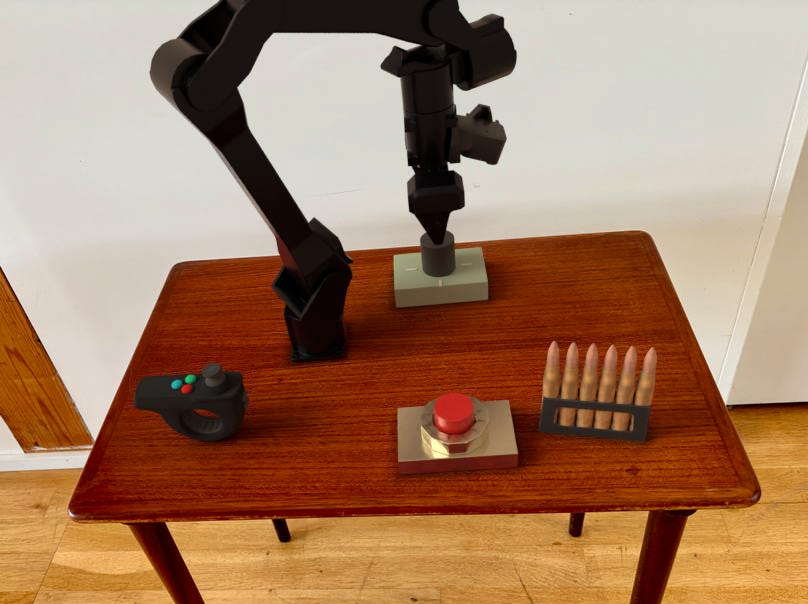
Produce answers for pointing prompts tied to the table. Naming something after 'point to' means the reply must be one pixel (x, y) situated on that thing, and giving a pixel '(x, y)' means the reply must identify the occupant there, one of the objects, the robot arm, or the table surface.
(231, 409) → the controller
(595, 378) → the ammunition clip
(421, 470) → the button housing
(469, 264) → the dial panel
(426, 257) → the dial
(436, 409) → the press knob
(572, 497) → the table surface
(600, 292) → the table surface
